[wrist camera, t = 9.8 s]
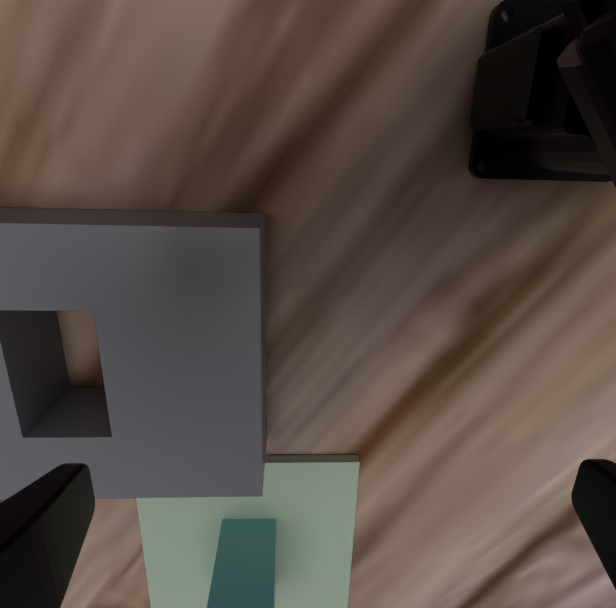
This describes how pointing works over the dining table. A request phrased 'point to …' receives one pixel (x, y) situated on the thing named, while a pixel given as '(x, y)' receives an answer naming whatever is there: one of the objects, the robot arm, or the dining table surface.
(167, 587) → the mat
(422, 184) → the dining table surface
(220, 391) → the socket block
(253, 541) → the plug
